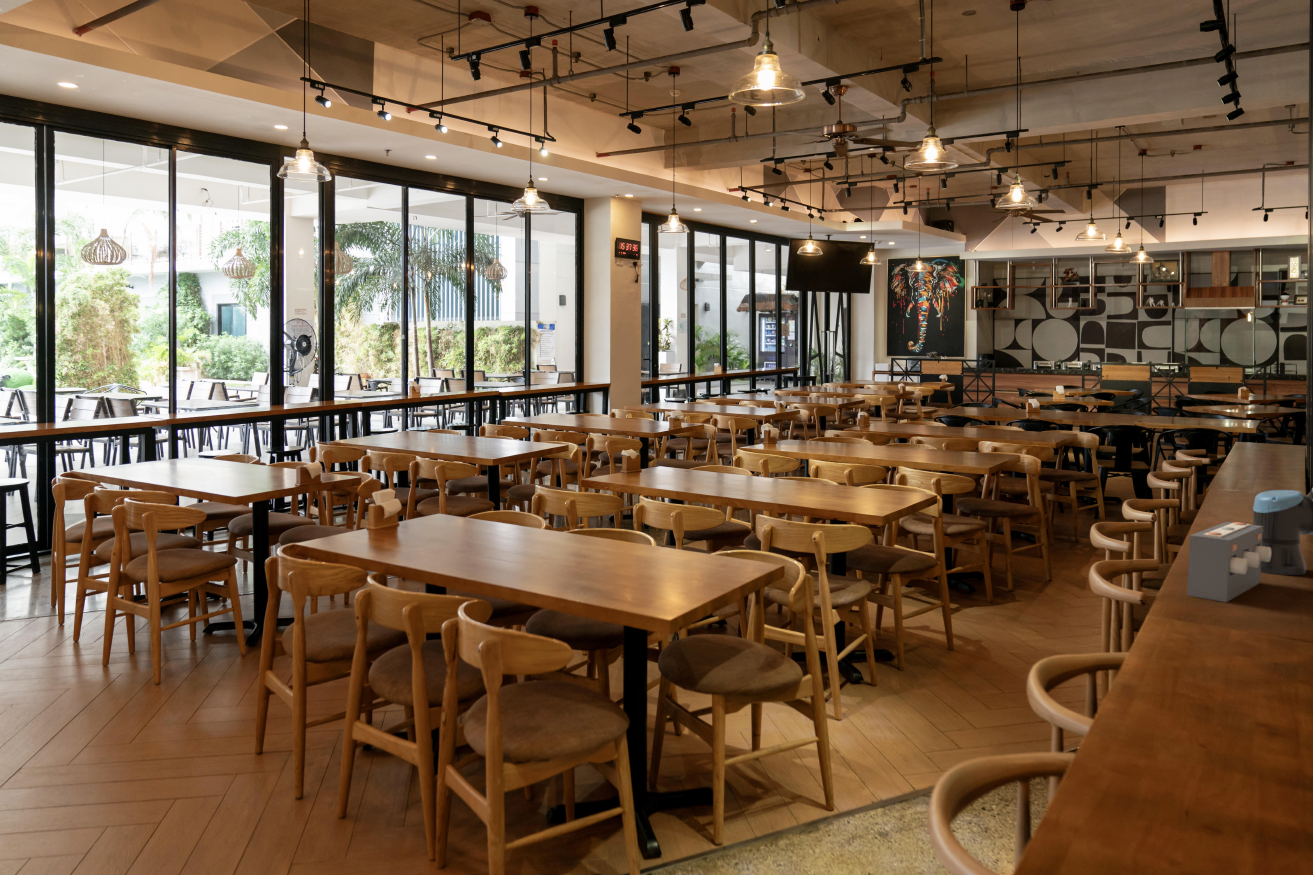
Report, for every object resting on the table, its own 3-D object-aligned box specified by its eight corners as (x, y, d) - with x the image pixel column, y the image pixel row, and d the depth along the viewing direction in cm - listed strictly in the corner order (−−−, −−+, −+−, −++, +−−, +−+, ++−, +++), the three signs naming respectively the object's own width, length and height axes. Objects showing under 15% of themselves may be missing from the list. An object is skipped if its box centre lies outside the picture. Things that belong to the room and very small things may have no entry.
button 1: (1222, 569, 234) (1223, 554, 234) (1247, 573, 230) (1247, 557, 229) (1217, 572, 231) (1218, 556, 231) (1242, 575, 227) (1243, 560, 227)
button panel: (1223, 577, 255) (1225, 519, 254) (1261, 583, 248) (1264, 523, 247) (1187, 595, 235) (1190, 532, 234) (1227, 602, 228) (1230, 537, 227)
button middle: (1235, 563, 241) (1236, 548, 241) (1259, 566, 237) (1260, 551, 237) (1231, 565, 239) (1231, 550, 238) (1255, 569, 234) (1255, 554, 234)
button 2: (1247, 557, 249) (1248, 543, 248) (1271, 560, 245) (1271, 546, 244) (1243, 559, 246) (1244, 545, 246) (1266, 562, 242) (1267, 548, 242)
